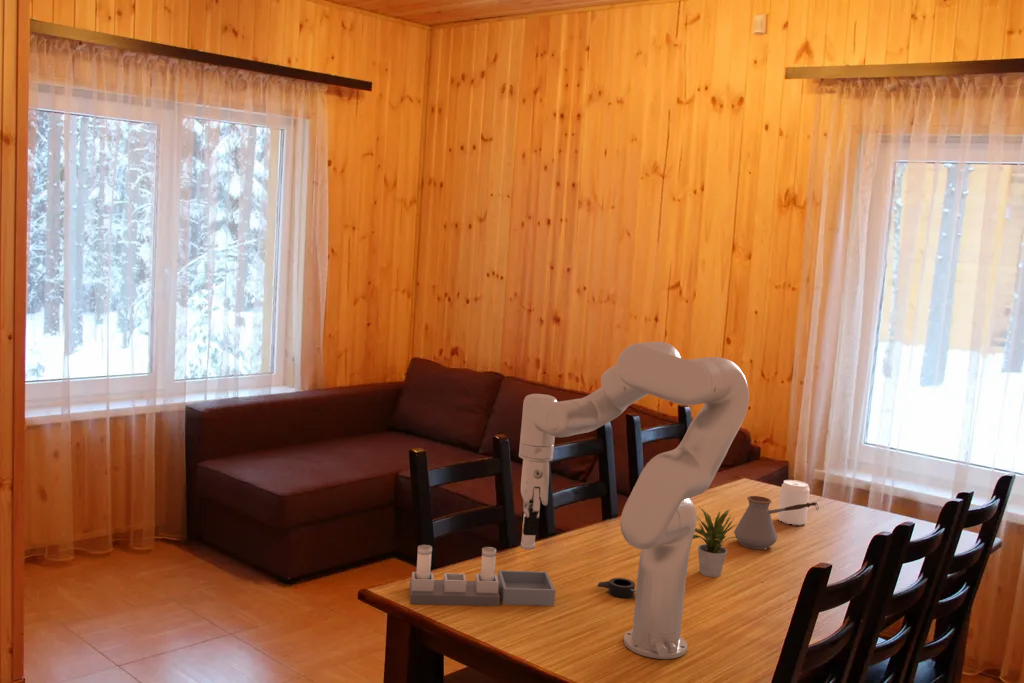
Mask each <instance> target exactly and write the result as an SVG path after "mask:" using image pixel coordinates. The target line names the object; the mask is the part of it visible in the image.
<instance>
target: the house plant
mask: <svg viewBox="0 0 1024 683" xmlns="http://www.w3.org/2000/svg"><path fill="white" fill-rule="evenodd" d="M698 508H699V509H700V510H701V511H702V513H703V516H704V519H705V522H706V523H705V522H704V521H702V520H701V519H700V518H699V517H698V516H697V521H696V522H698V526H699V528H695V532H694V533H696V534H694V536H693V540H695V539H698V538H699V539H701V542H702V543H703V544H700V545H698V546H697V551H698V567H699V574H701V575H702V576H705V577H710V578H716V577H720V576H721V575H722V571H723V568H724V564H725V561H726V556H727V553H728V549H726V548H725V547H723V546H724V545H725V544H723V543H725V542H726V541H728V540H729V539H734V538H735V539H737V538H738V537H735V536H732V537H729V538H727V539H725V538H726V536H727V535H726V534H727V533H728V532H729V531H730V530H732V528H734V527H735V526H737V525H738V524H737V523H736V524H734V525H732V526H731V524H732V523H733V521H734V519H735V518H732V519H731V517H732V514H730V515H729V517H728V518H727V520H726V517H727V516H728V514H729V512H730V511H731V509H728V510H725V511H724V513H722V514H721V511H719V512H718V513H717V516H716V517H715V519H714V523H713V521H712V517H711V515H710V514H709V513H707V512H706V511H705V510H704V509H703V508H702V507H699V506H698ZM730 519H731V521H730ZM725 520H726V521H725ZM724 522H725V523H724ZM723 524H724V525H723ZM730 526H731V527H730ZM697 534H699V535H697ZM702 536H703V537H704V538H703V537H702ZM738 539H739V538H738ZM703 541H704V542H705V543H704V542H703Z"/></svg>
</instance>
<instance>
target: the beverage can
mask: <svg viewBox="0 0 1024 683" xmlns="http://www.w3.org/2000/svg"><path fill="white" fill-rule="evenodd" d="M810 491H811V490H810V486H809V483H807V482H804V481H801V480H794V479H785V480H783V483H782V484H781V488H780V495H779V503H778V504H779V505H778V509H781V508H786V507H790V506H794V505H798V504H807V503H809V499H810ZM808 509H809V507H804V508H801V509H796V510H788V511H781V512H777V514H778V515H777V519H778V521H780V522H781V521H782V522H781V523H783V522H784V523H783V524H785V523H787V524H786V525H788V524H792V525H791V526H795V525H799V526H802V525H805V524H806V523H807V517H808V516H807V515H808Z"/></svg>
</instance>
